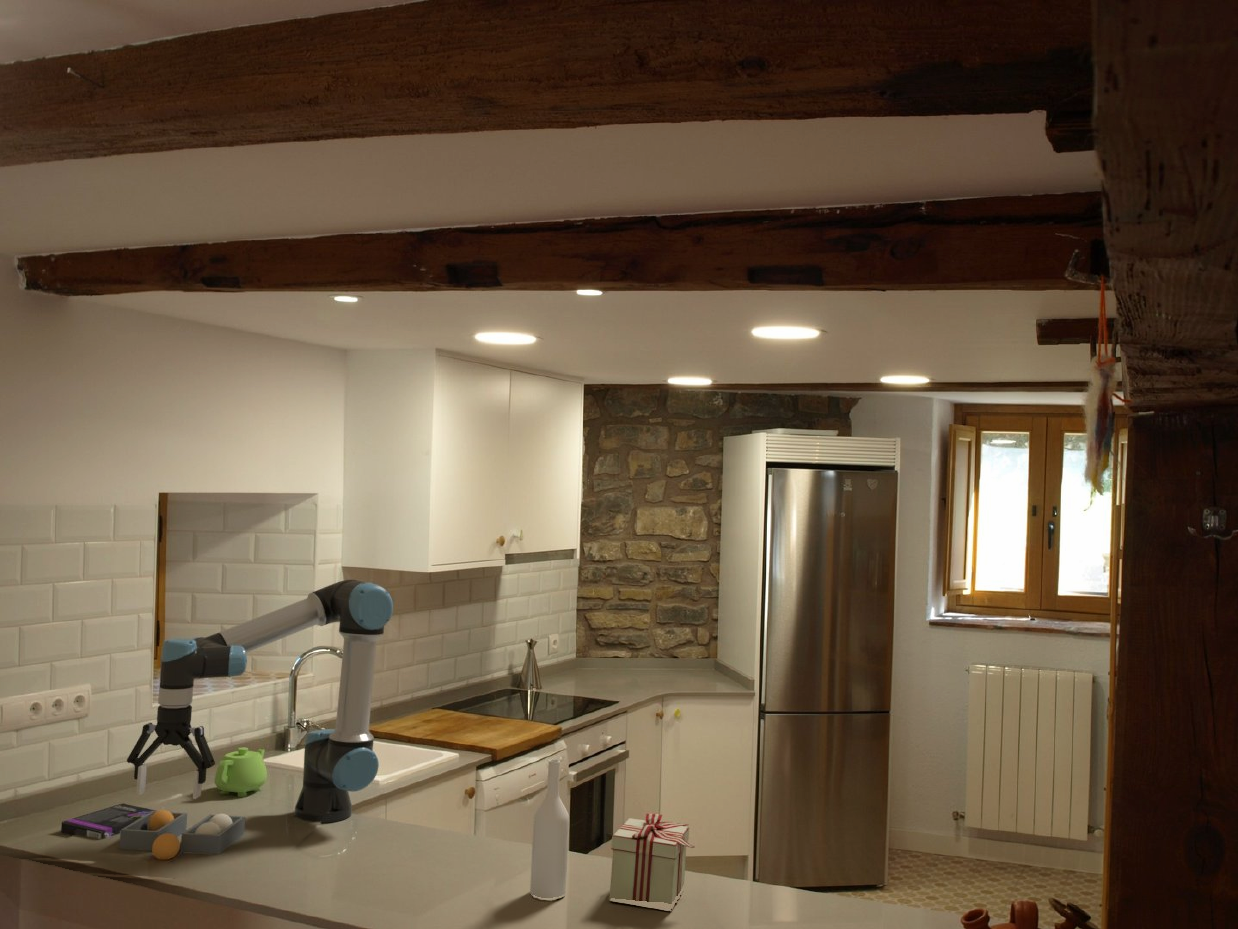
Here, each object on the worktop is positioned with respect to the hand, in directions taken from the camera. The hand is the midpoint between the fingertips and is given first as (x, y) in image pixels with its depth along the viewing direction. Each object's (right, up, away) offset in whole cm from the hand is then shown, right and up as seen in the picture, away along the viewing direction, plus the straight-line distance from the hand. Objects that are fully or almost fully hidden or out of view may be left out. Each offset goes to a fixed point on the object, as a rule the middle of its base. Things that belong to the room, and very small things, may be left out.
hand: (168, 795), depth 247 cm
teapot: (-4, -17, +57) cm, 60 cm away
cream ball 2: (+7, -15, +14) cm, 22 cm away
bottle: (+90, -19, -11) cm, 93 cm away
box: (-23, -15, +21) cm, 35 cm away
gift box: (+115, -20, -9) cm, 117 cm away
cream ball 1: (+6, -15, +7) cm, 18 cm away
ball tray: (-2, -15, +7) cm, 17 cm away
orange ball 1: (-8, -15, +15) cm, 22 cm away
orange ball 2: (-1, -15, -1) cm, 15 cm away
